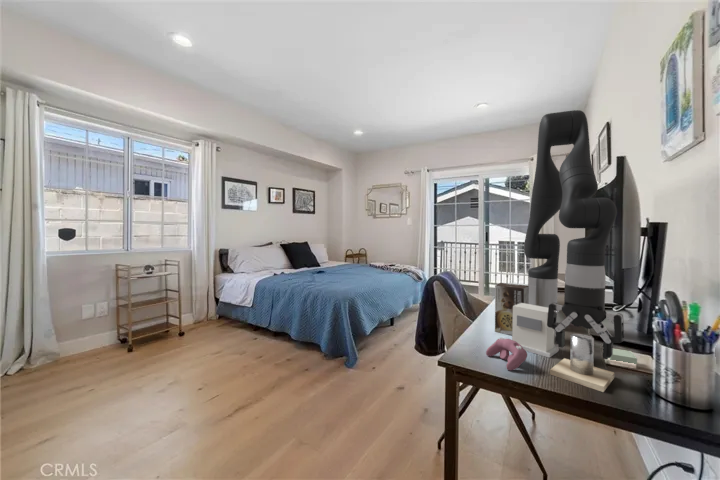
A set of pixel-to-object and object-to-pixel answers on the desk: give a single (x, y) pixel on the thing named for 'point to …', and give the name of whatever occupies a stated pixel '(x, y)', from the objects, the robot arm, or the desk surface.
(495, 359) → the desk surface
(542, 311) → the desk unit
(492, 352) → the video game controller
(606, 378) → the birch pad
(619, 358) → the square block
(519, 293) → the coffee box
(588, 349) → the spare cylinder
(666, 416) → the desk surface
